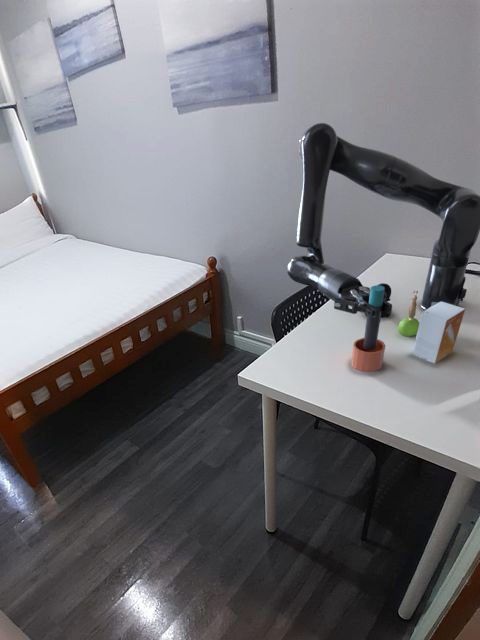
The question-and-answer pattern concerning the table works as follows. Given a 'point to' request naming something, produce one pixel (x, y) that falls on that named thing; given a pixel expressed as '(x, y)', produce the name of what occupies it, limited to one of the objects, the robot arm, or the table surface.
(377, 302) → the marker pen
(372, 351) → the pen cup
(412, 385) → the table surface
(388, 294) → the webcam
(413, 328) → the snail figurine
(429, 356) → the small box
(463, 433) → the table surface
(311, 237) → the robot arm
